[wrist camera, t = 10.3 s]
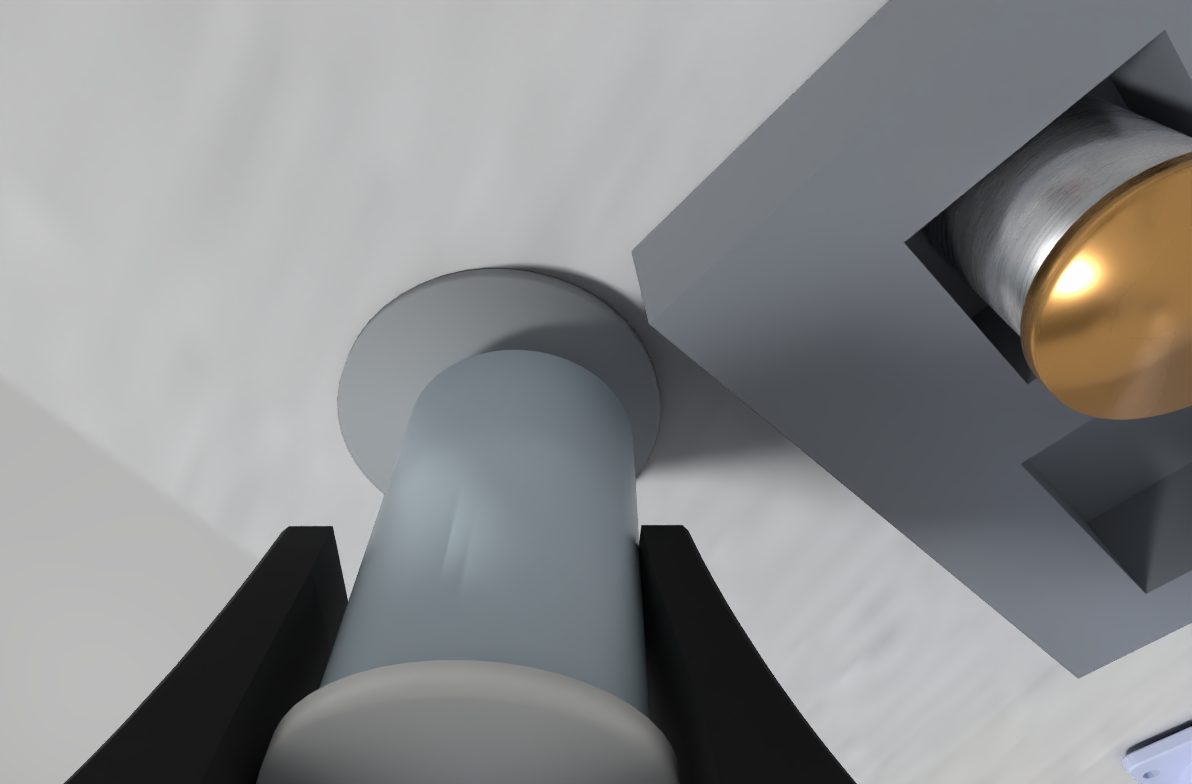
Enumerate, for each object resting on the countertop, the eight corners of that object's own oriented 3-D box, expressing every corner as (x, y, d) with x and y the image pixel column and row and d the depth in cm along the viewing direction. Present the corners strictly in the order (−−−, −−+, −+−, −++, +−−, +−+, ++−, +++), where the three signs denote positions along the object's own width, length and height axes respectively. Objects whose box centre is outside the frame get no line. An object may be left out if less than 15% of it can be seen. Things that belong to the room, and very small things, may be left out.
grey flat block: (1478, 338, 15) (1620, 411, 13) (1022, 593, 19) (1078, 678, 17) (1238, -340, 9) (1442, -398, 7) (631, 251, 12) (648, 323, 11)
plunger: (1174, 183, 12) (1388, 292, 9) (980, 324, 13) (1109, 460, 10) (1079, 17, 10) (1299, 84, 7) (870, 197, 11) (985, 314, 8)
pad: (721, 397, 14) (725, 409, 14) (521, 559, 17) (521, 572, 16) (476, 197, 12) (475, 207, 11) (279, 423, 14) (273, 436, 14)
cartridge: (637, 538, 15) (661, 945, 9) (405, 527, 15) (287, 935, 9) (663, 341, 12) (718, 750, 7) (378, 326, 12) (188, 730, 6)
